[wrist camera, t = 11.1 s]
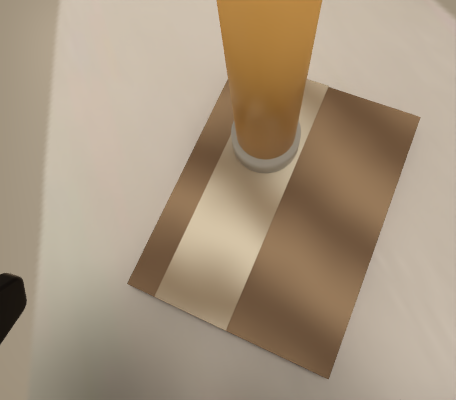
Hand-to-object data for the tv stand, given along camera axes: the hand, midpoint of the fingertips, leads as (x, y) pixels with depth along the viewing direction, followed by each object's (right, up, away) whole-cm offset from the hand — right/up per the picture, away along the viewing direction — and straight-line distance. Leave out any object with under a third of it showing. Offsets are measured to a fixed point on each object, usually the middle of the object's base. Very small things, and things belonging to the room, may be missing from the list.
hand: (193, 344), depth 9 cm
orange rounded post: (+3, +7, +15) cm, 16 cm away
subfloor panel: (+4, +3, +15) cm, 16 cm away
